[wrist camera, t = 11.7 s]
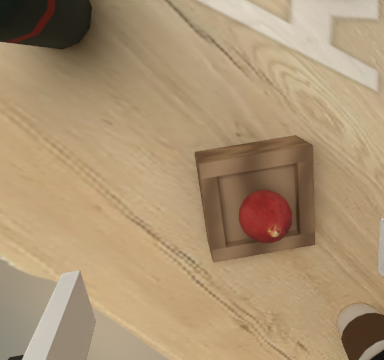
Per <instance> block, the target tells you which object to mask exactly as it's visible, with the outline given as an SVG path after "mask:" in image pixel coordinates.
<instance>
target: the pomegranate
mask: <svg viewBox="0 0 384 360" xmlns="http://www.w3.org/2000/svg"><path fill="white" fill-rule="evenodd" d="M239 222H240V225H241V228H242V230H243V231H244V233H246V234H247V235H248V236H249V237H250V238H251V239H253V240H255V241H258V242H261V243H273V242H276V241H279V240H281V239H282V238H283V237H284V236H286V235H287V233H288V231H289V229H290V228H291V226H292V210H291V208H290V206H289V204H288V202H287V201H286V200H285V199H284V198H283V197H282V196H281V195H280V194H278V193H276V192H273V191H270V190H259V191H256V192H254V193H252V194H250V195H249V196H248V197H246V198H245V199H244V201H243V203H242V205H241V207H240V209H239Z"/></svg>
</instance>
